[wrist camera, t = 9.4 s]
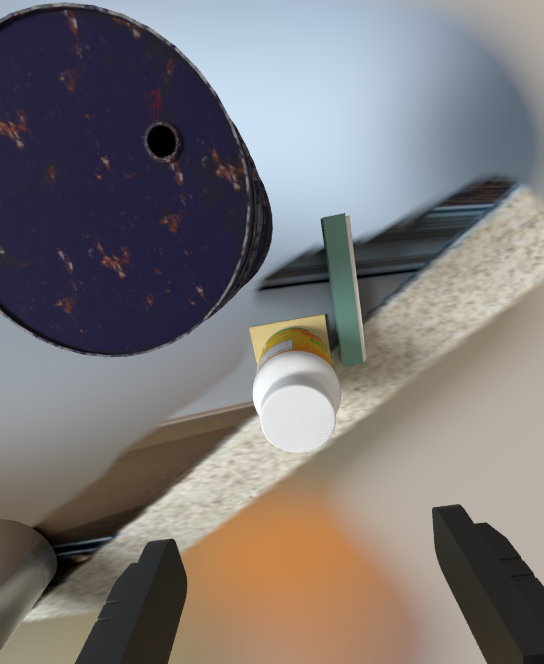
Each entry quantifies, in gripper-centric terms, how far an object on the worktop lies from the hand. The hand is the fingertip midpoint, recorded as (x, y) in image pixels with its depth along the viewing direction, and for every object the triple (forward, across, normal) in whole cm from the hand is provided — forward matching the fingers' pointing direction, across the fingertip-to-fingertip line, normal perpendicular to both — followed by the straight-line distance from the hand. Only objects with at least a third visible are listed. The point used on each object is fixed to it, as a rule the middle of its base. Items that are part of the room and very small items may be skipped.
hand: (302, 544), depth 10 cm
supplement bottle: (+17, 0, 0) cm, 17 cm away
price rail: (+17, -5, -5) cm, 18 cm away
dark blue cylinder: (+17, +4, -11) cm, 21 cm away
